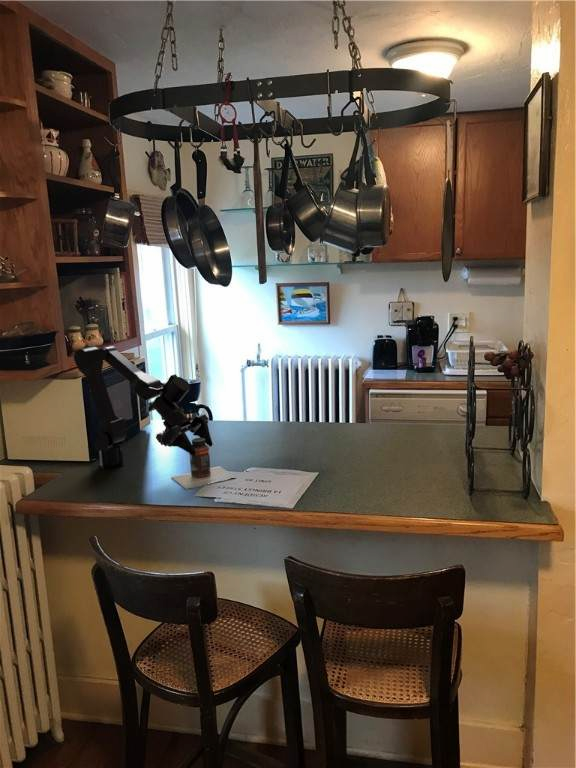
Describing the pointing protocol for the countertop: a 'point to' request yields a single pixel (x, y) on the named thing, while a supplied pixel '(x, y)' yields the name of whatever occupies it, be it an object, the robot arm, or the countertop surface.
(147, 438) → the countertop surface
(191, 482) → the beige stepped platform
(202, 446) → the supplement bottle
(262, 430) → the countertop surface
